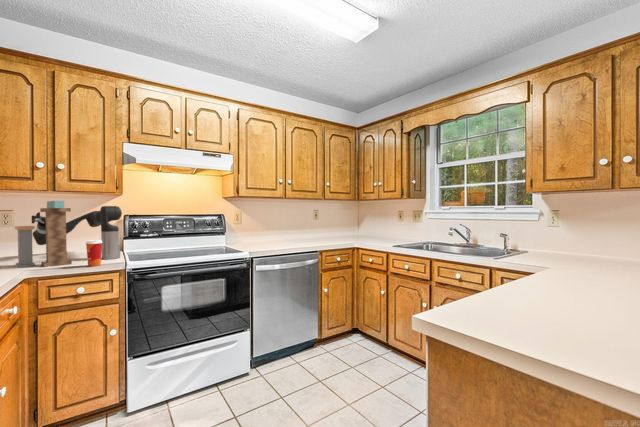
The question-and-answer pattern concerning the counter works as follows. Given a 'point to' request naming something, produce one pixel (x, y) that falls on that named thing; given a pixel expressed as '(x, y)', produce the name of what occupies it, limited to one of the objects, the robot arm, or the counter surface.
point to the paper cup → (94, 252)
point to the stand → (56, 236)
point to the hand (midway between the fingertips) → (48, 213)
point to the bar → (55, 204)
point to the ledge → (25, 246)
